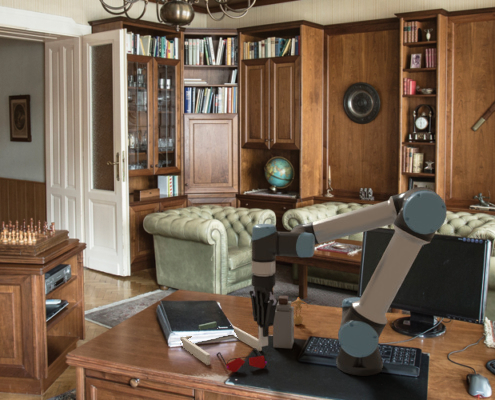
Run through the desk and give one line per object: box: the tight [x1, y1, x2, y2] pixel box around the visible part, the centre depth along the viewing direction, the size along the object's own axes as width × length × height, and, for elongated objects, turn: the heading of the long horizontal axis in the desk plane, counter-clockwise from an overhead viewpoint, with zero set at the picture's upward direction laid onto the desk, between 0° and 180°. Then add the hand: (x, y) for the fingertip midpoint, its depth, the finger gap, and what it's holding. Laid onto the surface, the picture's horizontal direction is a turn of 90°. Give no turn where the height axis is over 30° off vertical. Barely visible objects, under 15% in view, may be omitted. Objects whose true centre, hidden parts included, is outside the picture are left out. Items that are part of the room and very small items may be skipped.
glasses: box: [216, 348, 268, 373], centre depth 190 cm, size 14×16×5 cm
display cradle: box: [179, 321, 263, 366], centre depth 202 cm, size 20×22×6 cm
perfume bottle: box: [272, 295, 295, 349], centre depth 204 cm, size 7×7×18 cm
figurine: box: [291, 296, 309, 326], centre depth 224 cm, size 8×6×12 cm
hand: (263, 345), depth 178 cm, fingers closed
